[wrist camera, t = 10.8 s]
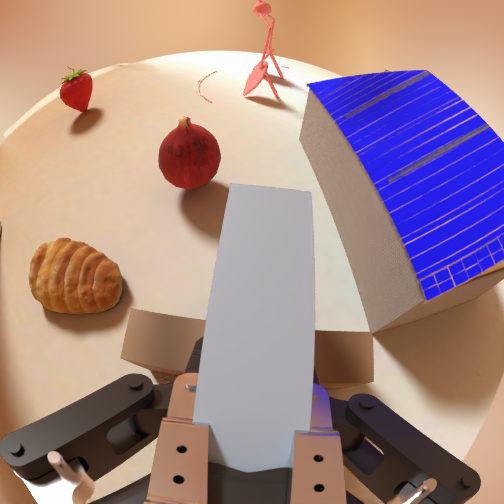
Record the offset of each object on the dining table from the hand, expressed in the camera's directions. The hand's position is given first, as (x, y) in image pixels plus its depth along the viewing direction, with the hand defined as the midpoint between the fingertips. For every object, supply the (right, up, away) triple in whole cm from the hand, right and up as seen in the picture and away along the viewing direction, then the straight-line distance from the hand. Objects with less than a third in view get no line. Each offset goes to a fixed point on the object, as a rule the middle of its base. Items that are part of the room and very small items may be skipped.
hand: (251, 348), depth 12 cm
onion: (-6, +11, +15) cm, 19 cm away
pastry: (-16, +2, +9) cm, 18 cm away
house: (+15, +9, +15) cm, 23 cm away
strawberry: (-30, +30, +24) cm, 48 cm away
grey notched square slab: (0, -2, +4) cm, 4 cm away
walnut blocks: (0, -3, +6) cm, 7 cm away
